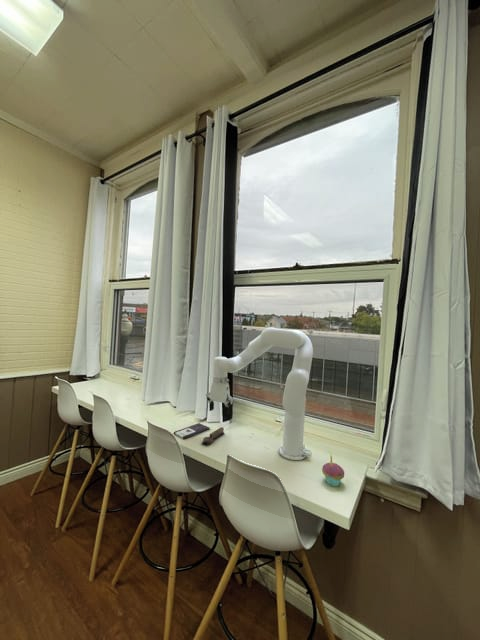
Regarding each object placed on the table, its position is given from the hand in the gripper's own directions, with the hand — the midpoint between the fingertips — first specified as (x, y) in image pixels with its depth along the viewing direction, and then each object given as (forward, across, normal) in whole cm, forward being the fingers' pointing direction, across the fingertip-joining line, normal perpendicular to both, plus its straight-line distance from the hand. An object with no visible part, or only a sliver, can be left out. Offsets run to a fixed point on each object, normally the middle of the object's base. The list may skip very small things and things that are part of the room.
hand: (219, 412), depth 141 cm
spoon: (+13, +1, +2) cm, 13 cm away
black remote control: (+14, +1, +2) cm, 14 cm away
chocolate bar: (+14, +16, +2) cm, 21 cm away
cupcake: (+15, -60, +6) cm, 62 cm away
